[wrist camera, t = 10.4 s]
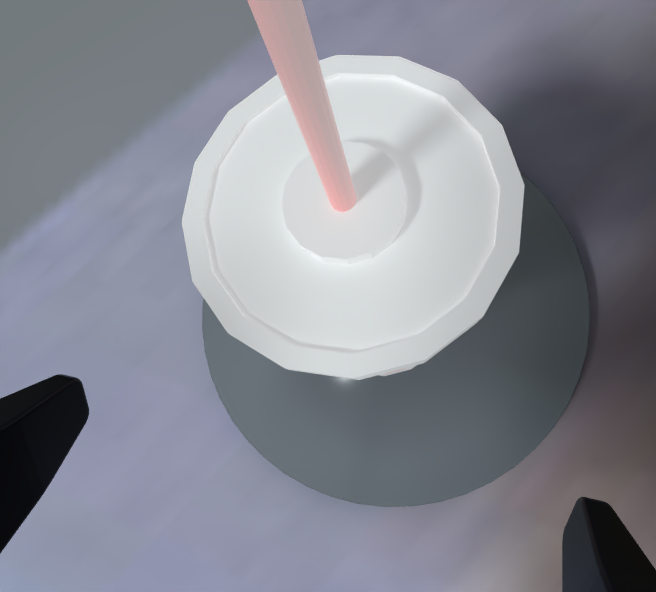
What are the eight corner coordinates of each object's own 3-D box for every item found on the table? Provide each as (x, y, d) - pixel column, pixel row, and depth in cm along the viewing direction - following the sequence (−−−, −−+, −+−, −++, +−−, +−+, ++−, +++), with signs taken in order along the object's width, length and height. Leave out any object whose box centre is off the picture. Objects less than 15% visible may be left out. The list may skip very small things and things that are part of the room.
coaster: (671, 377, 17) (680, 376, 16) (311, 579, 17) (307, 585, 16) (448, 77, 20) (448, 66, 20) (155, 248, 21) (147, 244, 20)
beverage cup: (496, 250, 18) (731, -270, 4) (440, 427, 17) (526, 449, 3) (326, 203, 19) (114, -302, 6) (266, 363, 18) (-158, 203, 5)
